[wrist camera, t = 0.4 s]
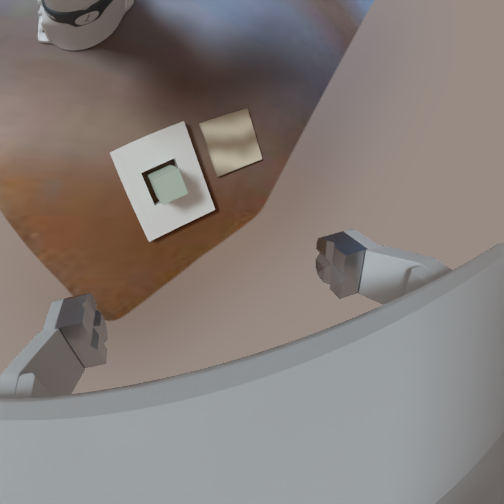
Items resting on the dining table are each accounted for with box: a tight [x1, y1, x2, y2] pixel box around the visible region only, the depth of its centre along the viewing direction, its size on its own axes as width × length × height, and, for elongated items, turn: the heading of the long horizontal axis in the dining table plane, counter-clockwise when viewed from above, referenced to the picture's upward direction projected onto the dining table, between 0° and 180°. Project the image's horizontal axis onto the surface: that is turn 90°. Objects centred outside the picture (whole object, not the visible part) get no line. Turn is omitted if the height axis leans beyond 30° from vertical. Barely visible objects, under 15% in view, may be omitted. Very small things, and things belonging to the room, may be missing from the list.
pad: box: [199, 108, 262, 177], centre depth 52 cm, size 11×10×1 cm
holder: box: [110, 121, 215, 242], centre depth 49 cm, size 18×14×2 cm
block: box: [148, 165, 188, 205], centre depth 46 cm, size 4×4×8 cm
